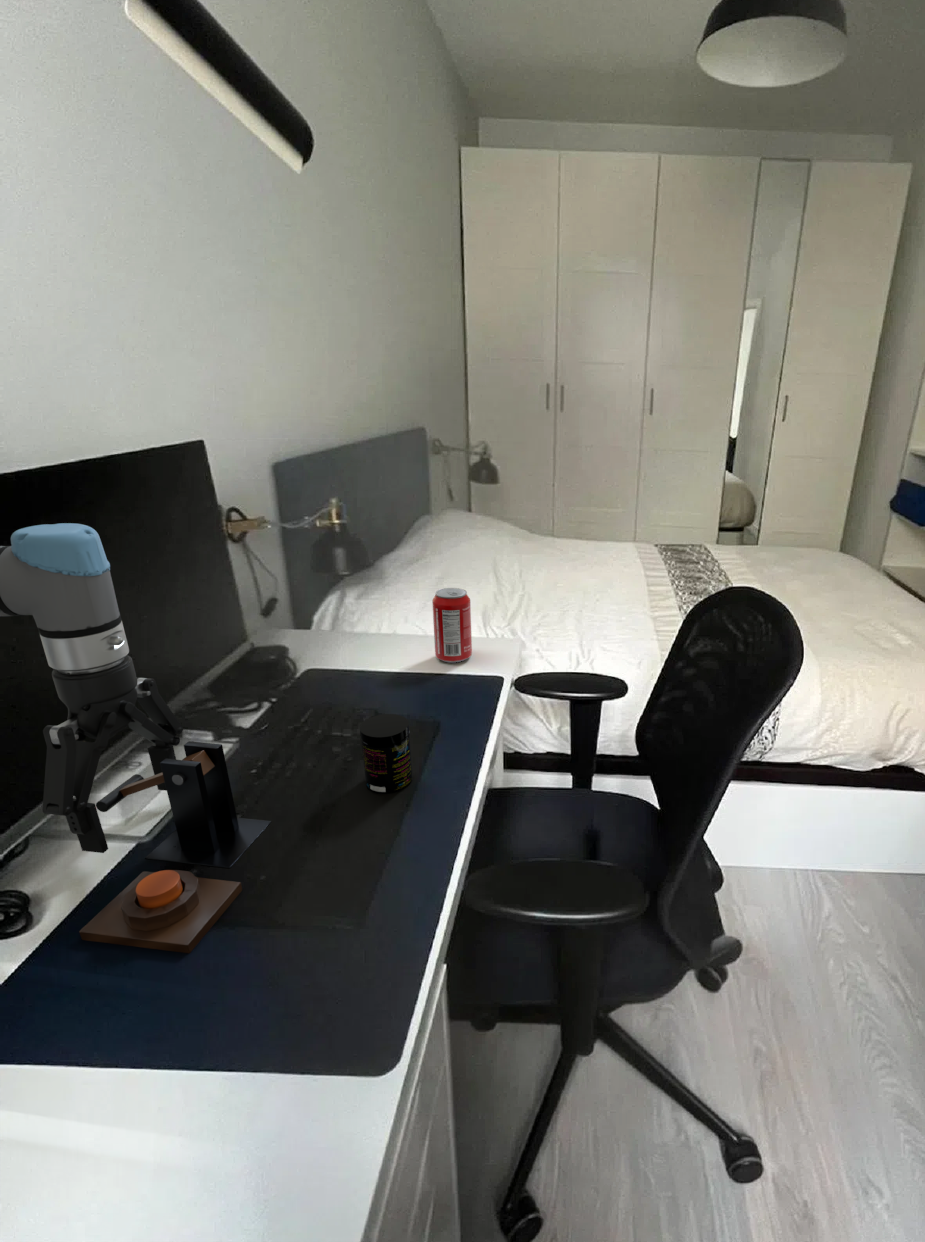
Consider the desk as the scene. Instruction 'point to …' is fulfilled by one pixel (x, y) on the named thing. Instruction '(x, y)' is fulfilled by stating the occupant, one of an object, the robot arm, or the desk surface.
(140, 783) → the lever
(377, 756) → the supplement container
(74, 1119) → the desk surface
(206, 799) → the bracket
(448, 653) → the soda can
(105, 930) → the button block
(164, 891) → the button
